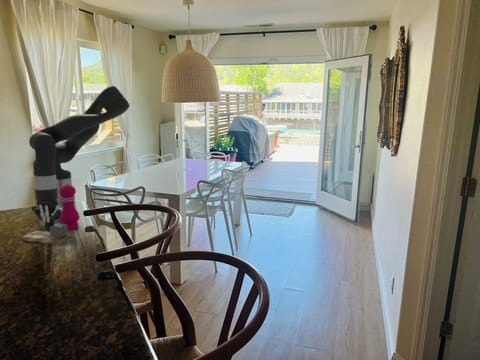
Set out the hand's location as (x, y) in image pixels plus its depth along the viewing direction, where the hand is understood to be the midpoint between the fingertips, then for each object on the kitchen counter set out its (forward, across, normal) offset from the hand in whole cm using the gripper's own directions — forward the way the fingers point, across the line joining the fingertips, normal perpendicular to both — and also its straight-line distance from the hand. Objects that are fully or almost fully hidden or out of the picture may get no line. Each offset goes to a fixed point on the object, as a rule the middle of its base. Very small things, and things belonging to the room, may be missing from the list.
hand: (49, 230), depth 134 cm
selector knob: (+2, +4, 0) cm, 4 cm away
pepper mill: (+4, -1, +13) cm, 14 cm away
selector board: (+4, -1, 0) cm, 4 cm away
